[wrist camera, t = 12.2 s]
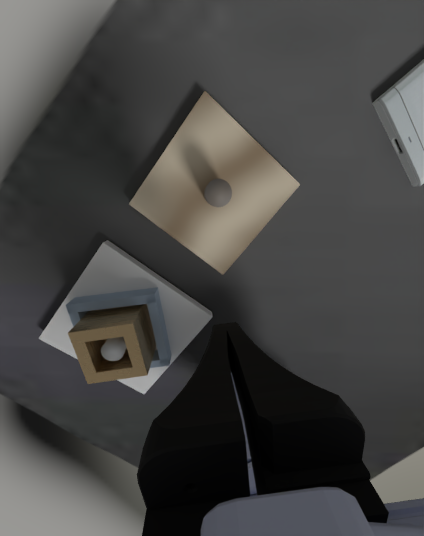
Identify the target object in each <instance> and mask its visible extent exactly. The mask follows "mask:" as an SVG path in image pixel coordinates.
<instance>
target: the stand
mask: <svg viewBox="0 0 424 536" xmlns="http://www.w3.org/2000/svg"><path fill="white" fill-rule="evenodd" d="M299 185H300V184H299V183H298V182H297V181H296V180H295V179H294V178H293V177H292V176H291V175H290V174H289V173H288V172H287V171H286V170H285V169H284V168H283V167H282V166H281V165H280V164H279V163H278V162H277V161H276V160H275V159H274V158H273V157H272V156H271V155H270V154H269V153H268V152H267V151H266V150H265V149H264V148H263V147H262V146H261V145H260V144H259V143H258V142H257V141H255V140H254V139H253V138H252V137H251V136H250V135H249V134H248V133H247V132H246V131H245V130H244V129H243V128H242V127H241V126H240V125H239V124H238V123H237V122H236V121H235V120H234V119H233V118H232V117H231V116H230V115H229V114H228V113H227V112H226V111H225V110H224V109H223V108H222V107H221V106H220V105H219V104H218V103H217V102H216V101H215V100H214V99H213V98H212V97H211V96H210V95H209V94H208V93H207V92H206V91H204V93H203V94H202V96H201V97H200V99H199V100H198V102H197V103H196V105H195V106H194V108H193V109H192V111H191V112H190V114H189V115H188V116H187V118H186V119H185V121H184V122H183V124H182V125H181V127H180V128H179V130H178V131H177V133H176V134H175V136H174V137H173V139H172V140H171V142H170V143H169V145H168V146H167V148H166V149H165V151H164V152H163V154H162V155H161V157H160V158H159V160H158V161H157V163H156V164H155V166H154V167H153V169H152V170H151V172H150V173H149V175H148V176H147V178H146V179H145V181H144V182H143V184H142V185H141V187H140V188H139V190H138V191H137V193H136V194H135V196H134V197H133V198H132V200H131V201H130V203H129V205H131V206H132V207H133V208H135V209H136V210H137V211H139V212H140V213H141V214H143V215H144V216H145V217H147V218H148V219H149V220H151V221H152V222H153V223H155V224H156V225H157V226H159V227H160V228H161V229H163V230H164V231H165V232H167V233H168V234H169V235H171V236H172V237H173V238H175V239H176V240H177V241H179V242H180V243H181V244H183V245H184V246H185V247H186V248H188V249H189V250H190V251H192V252H193V253H194V254H196V255H197V256H198V257H200V258H201V259H202V260H204V261H205V262H206V263H208V264H209V265H210V266H212V267H213V268H214V269H216V270H217V271H218V272H220V273H221V274H222V275H223V274H224V273H225V272H226V271H227V270H228V269H229V267H230V266H231V265H232V264H233V263H234V261H235V260H236V259H237V258H238V257H239V256H240V254H241V253H242V252H243V251H244V250H245V249H246V247H247V246H248V245H249V244H250V243H251V242H252V240H253V239H254V238H255V237H256V236H257V235H258V233H259V232H260V231H261V230H262V229H263V228H264V226H265V225H266V224H267V223H268V222H269V221H270V219H271V218H272V217H273V216H274V215H275V213H276V212H277V211H278V210H279V209H280V208H281V206H282V205H283V204H284V203H285V202H286V201H287V199H288V198H289V197H290V196H291V195H292V194H293V192H294V191H295V190H296V189H297V188H298V187H299Z"/></svg>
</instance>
